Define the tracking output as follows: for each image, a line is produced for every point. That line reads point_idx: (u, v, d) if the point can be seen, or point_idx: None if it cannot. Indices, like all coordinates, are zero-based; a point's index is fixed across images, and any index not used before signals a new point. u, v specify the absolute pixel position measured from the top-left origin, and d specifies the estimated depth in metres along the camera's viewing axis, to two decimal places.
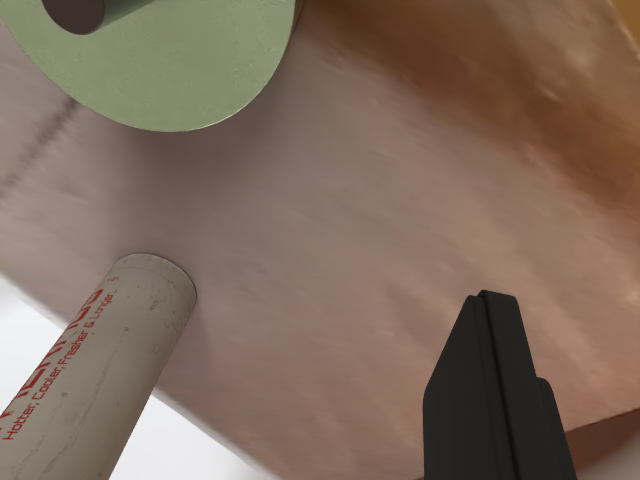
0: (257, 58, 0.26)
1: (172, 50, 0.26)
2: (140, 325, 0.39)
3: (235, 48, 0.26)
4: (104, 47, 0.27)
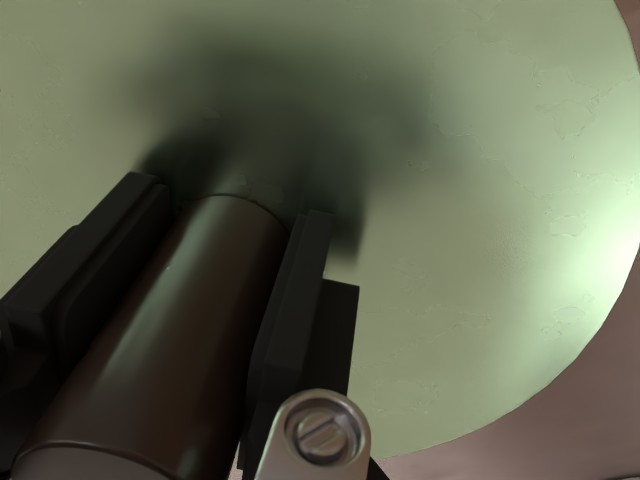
0: (580, 144, 0.09)
1: (398, 290, 0.11)
2: None
3: (510, 175, 0.09)
4: None
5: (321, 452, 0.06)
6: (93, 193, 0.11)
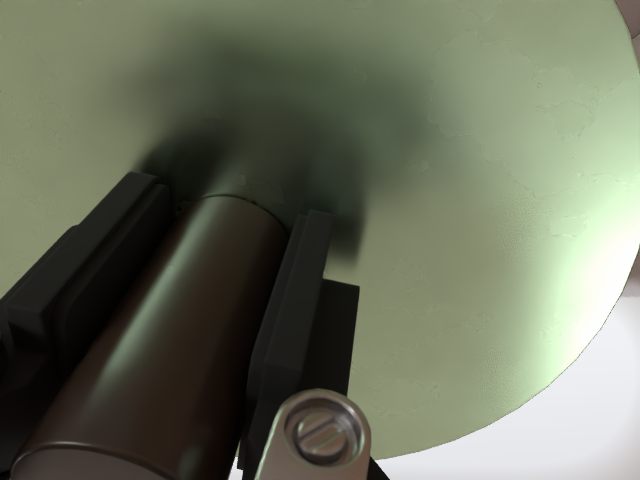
0: (580, 145, 0.09)
1: (399, 290, 0.11)
2: None
3: (511, 175, 0.09)
4: None
5: (320, 452, 0.06)
6: (93, 193, 0.11)
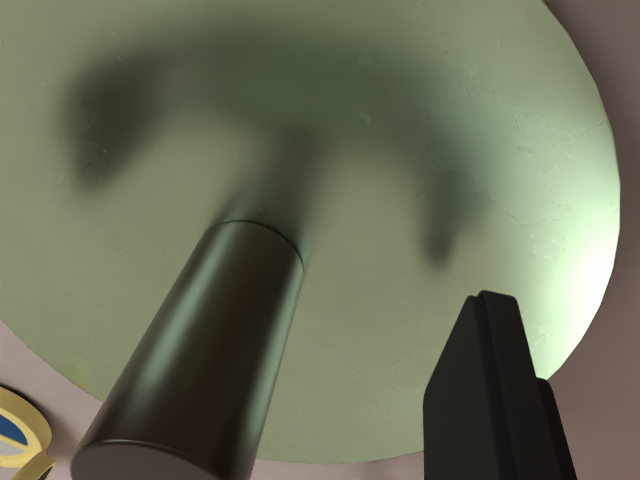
0: (558, 179, 0.10)
1: (399, 305, 0.12)
2: None
3: (497, 205, 0.10)
4: (312, 381, 0.14)
5: None
6: (124, 219, 0.12)
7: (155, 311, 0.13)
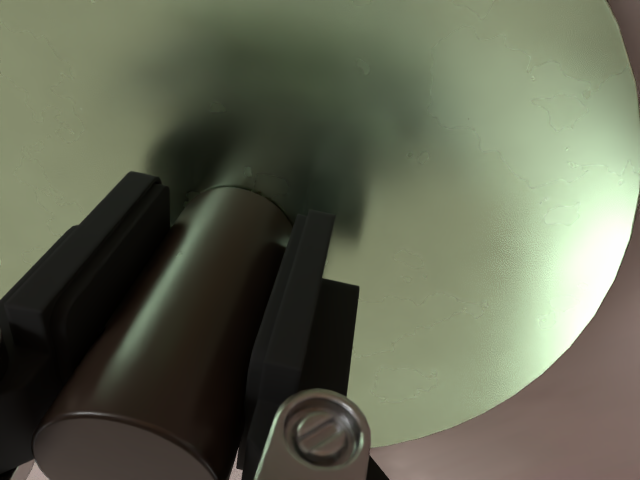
0: (573, 136, 0.09)
1: (399, 279, 0.11)
2: None
3: (506, 166, 0.09)
4: None
5: (320, 452, 0.06)
6: (103, 185, 0.11)
7: None
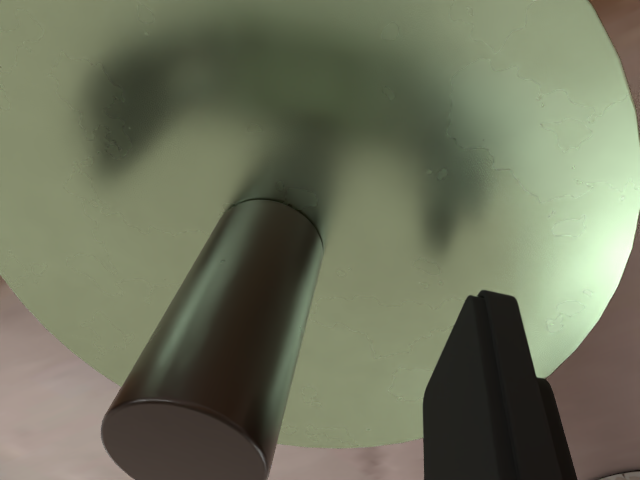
0: (579, 156, 0.10)
1: (417, 285, 0.12)
2: None
3: (518, 182, 0.10)
4: (328, 363, 0.14)
5: None
6: (146, 197, 0.12)
7: (173, 291, 0.13)
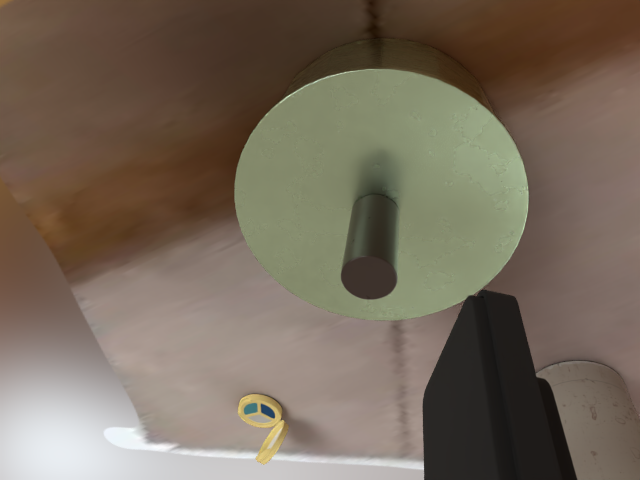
0: (503, 177, 0.26)
1: (439, 231, 0.28)
2: (601, 440, 0.36)
3: (481, 187, 0.26)
4: None
5: None
6: (323, 193, 0.28)
7: (326, 236, 0.29)
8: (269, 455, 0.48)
